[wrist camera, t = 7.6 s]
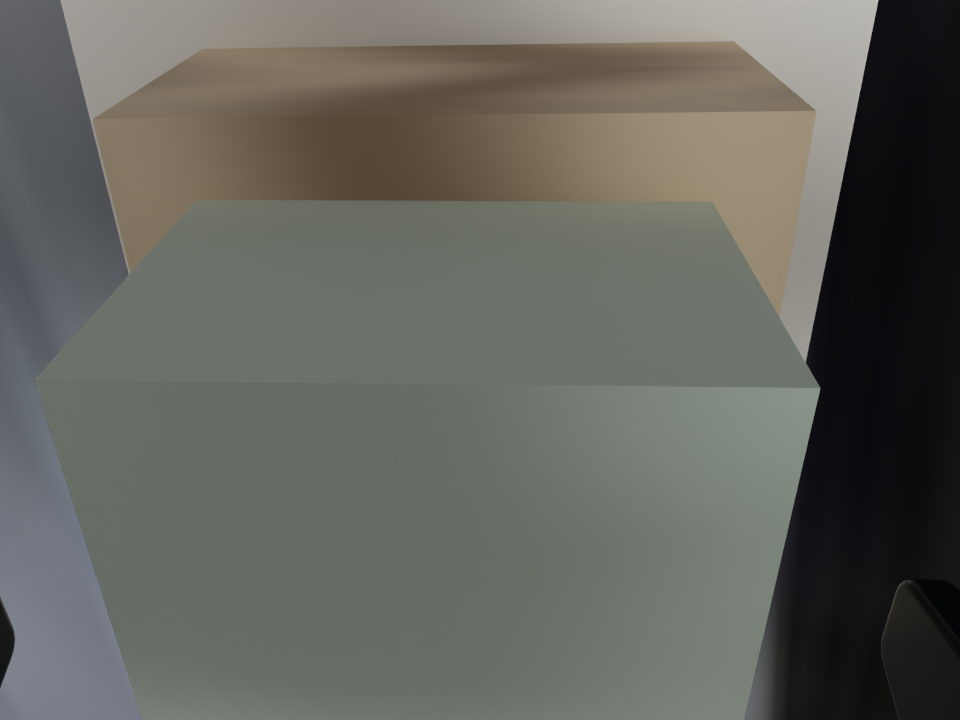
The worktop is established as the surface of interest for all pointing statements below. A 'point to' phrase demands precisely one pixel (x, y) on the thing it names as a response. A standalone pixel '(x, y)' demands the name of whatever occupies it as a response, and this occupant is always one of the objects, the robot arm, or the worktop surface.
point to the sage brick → (436, 461)
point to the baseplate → (519, 20)
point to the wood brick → (467, 133)
